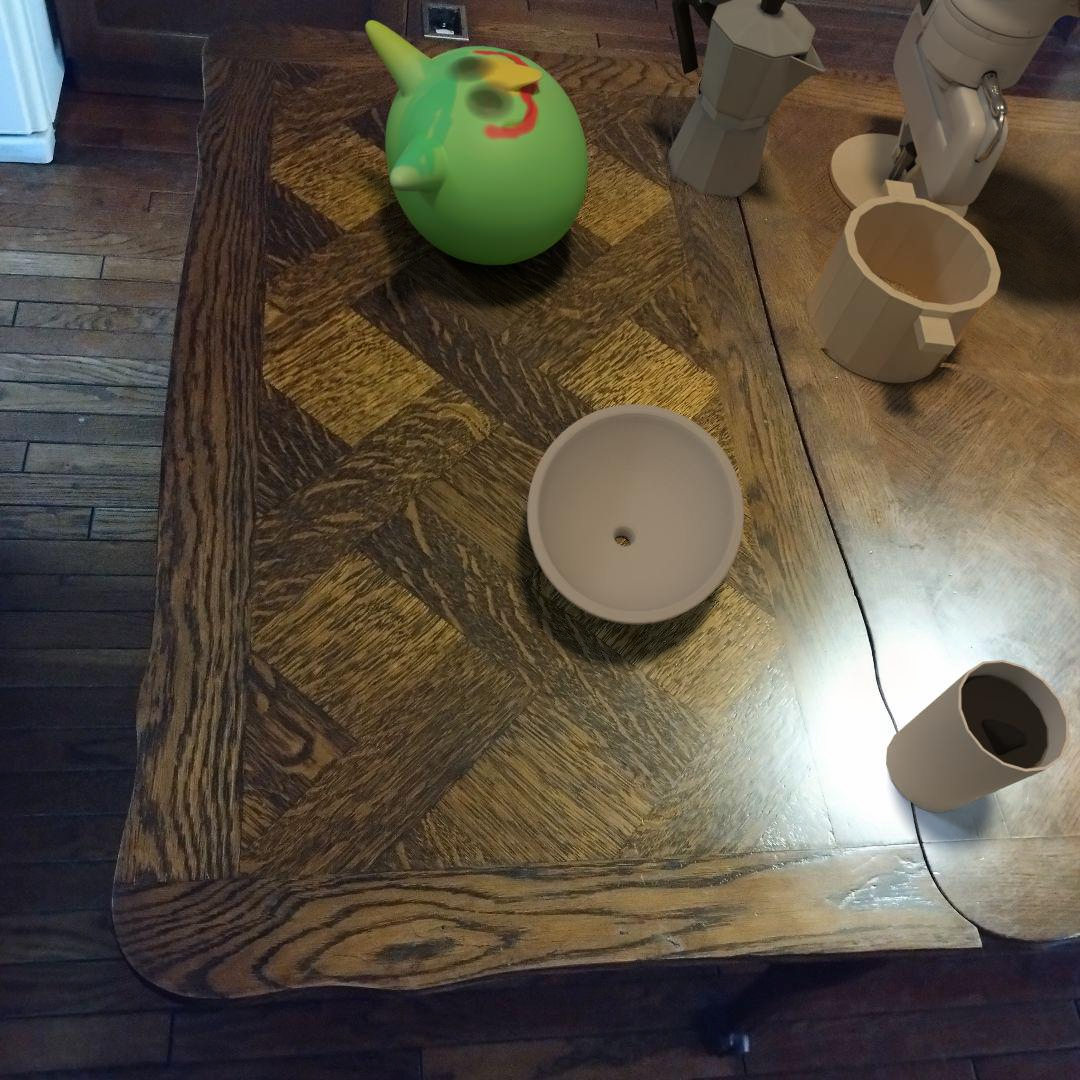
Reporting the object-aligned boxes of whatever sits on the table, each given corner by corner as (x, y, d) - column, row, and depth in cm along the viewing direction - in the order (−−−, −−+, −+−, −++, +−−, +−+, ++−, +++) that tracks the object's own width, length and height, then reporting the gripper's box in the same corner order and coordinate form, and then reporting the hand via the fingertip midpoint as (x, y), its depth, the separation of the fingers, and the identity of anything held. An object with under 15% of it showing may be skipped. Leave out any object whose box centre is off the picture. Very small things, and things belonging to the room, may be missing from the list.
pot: (925, 259, 90) (973, 184, 83) (966, 416, 81) (1025, 347, 73) (792, 242, 88) (830, 164, 81) (819, 400, 79) (864, 328, 72)
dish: (566, 417, 74) (578, 374, 70) (745, 485, 74) (768, 446, 69) (481, 608, 65) (489, 573, 61) (684, 689, 64) (707, 658, 60)
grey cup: (996, 801, 64) (1093, 752, 55) (911, 832, 62) (998, 786, 53) (944, 708, 67) (1028, 647, 58) (861, 735, 65) (936, 676, 56)
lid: (947, 153, 99) (971, 112, 95) (976, 249, 92) (1003, 210, 88) (817, 135, 97) (836, 92, 93) (837, 231, 90) (858, 190, 86)
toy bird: (594, 296, 81) (635, 146, 69) (390, 312, 77) (394, 156, 65) (542, 150, 90) (570, -8, 77) (355, 157, 85) (353, -8, 73)
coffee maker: (791, 187, 92) (875, 1, 77) (738, 229, 88) (816, 41, 73) (668, 104, 96) (726, -90, 81) (612, 141, 92) (661, -56, 76)
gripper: (1047, 125, 76) (957, 259, 88) (989, -25, 87) (915, 112, 98) (971, 114, 75) (890, 250, 87) (921, -36, 86) (855, 103, 98)
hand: (903, 176), depth 93 cm, fingers closed on lid, 2 cm apart
